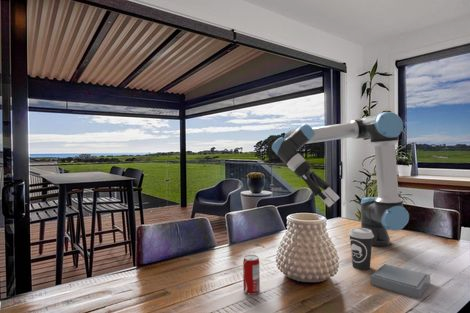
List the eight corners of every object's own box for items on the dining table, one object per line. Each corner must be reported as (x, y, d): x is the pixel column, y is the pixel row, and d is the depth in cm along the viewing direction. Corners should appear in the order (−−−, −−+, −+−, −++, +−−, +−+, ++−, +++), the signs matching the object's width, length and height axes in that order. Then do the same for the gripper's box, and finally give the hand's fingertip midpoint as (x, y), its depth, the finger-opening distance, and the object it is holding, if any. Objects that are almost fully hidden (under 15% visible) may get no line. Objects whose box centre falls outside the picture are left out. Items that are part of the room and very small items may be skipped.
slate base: (384, 271, 115) (384, 263, 115) (430, 283, 104) (430, 274, 104) (370, 284, 104) (370, 275, 104) (419, 298, 94) (419, 288, 93)
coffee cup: (377, 272, 114) (376, 234, 114) (350, 270, 116) (350, 232, 116) (370, 263, 123) (370, 227, 123) (346, 261, 125) (346, 226, 125)
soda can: (243, 287, 103) (243, 253, 103) (259, 287, 103) (258, 253, 102) (243, 295, 97) (243, 259, 97) (260, 295, 97) (259, 259, 97)
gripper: (301, 170, 143) (333, 203, 136) (284, 174, 121) (322, 213, 114) (312, 159, 140) (345, 192, 134) (297, 161, 118) (336, 201, 112)
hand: (334, 202), depth 124 cm, fingers open, 13 cm apart
